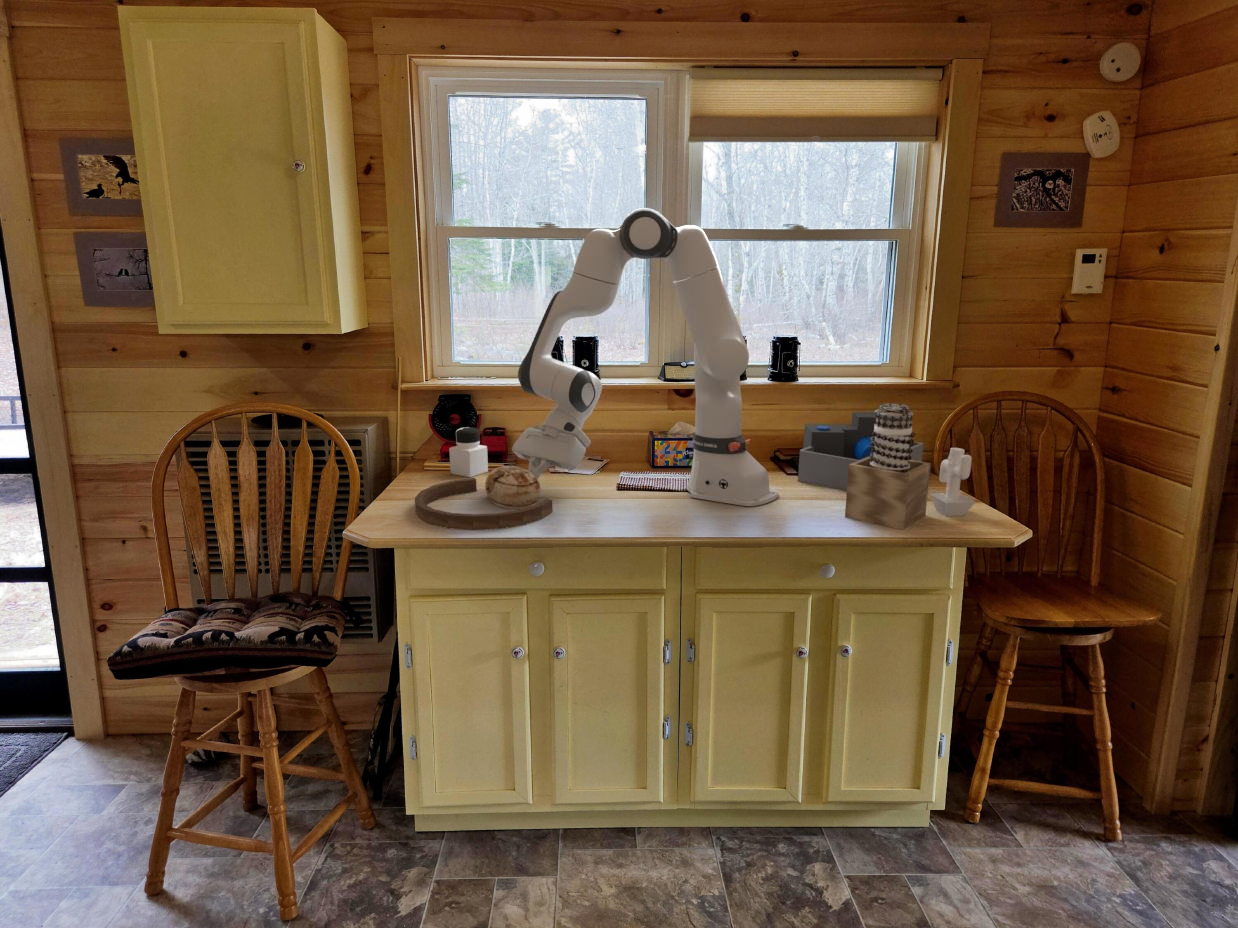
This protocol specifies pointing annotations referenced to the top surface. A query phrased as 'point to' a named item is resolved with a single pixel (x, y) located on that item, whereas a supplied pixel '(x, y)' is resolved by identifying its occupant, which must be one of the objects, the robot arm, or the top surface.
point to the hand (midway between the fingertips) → (531, 476)
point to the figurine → (953, 484)
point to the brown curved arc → (473, 520)
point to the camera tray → (834, 467)
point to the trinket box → (512, 487)
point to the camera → (842, 437)
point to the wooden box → (887, 493)
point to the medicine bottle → (468, 454)
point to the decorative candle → (892, 438)
